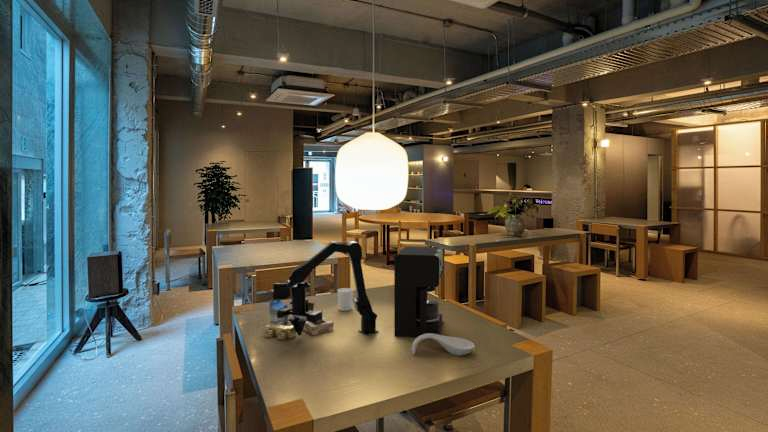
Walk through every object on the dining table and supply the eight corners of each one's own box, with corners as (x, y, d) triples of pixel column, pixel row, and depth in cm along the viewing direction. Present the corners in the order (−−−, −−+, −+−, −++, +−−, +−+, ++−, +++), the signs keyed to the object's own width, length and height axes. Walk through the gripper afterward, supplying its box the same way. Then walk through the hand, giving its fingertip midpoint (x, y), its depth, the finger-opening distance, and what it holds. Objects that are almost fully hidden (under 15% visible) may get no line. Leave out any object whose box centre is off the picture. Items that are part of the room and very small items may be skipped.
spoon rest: (469, 346, 158) (470, 328, 157) (478, 358, 146) (478, 339, 145) (410, 347, 157) (410, 329, 156) (413, 360, 145) (413, 341, 144)
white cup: (354, 307, 210) (354, 288, 209) (351, 311, 202) (351, 292, 201) (339, 306, 211) (339, 287, 210) (336, 311, 203) (336, 291, 202)
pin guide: (294, 333, 171) (293, 327, 171) (283, 339, 164) (283, 333, 164) (276, 330, 175) (275, 324, 174) (265, 336, 168) (265, 330, 168)
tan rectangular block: (296, 335, 169) (296, 325, 169) (290, 338, 165) (290, 328, 165) (270, 331, 174) (270, 321, 173) (264, 334, 170) (264, 324, 170)
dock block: (333, 330, 175) (333, 322, 175) (313, 335, 169) (312, 327, 169) (322, 324, 183) (322, 316, 183) (302, 328, 177) (302, 321, 177)
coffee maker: (439, 343, 160) (440, 256, 158) (391, 339, 164) (391, 255, 162) (443, 320, 188) (444, 246, 185) (402, 318, 191) (402, 245, 189)
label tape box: (277, 328, 177) (276, 301, 176) (269, 327, 178) (269, 300, 178) (288, 322, 185) (287, 296, 185) (280, 321, 187) (280, 295, 186)
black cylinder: (324, 329, 176) (324, 312, 175) (315, 331, 173) (315, 313, 173) (320, 327, 179) (319, 309, 178) (311, 329, 177) (311, 311, 176)
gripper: (328, 295, 169) (329, 331, 170) (291, 291, 176) (292, 326, 177) (314, 302, 158) (315, 340, 160) (275, 297, 166) (276, 334, 167)
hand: (299, 335), depth 166 cm, fingers closed
